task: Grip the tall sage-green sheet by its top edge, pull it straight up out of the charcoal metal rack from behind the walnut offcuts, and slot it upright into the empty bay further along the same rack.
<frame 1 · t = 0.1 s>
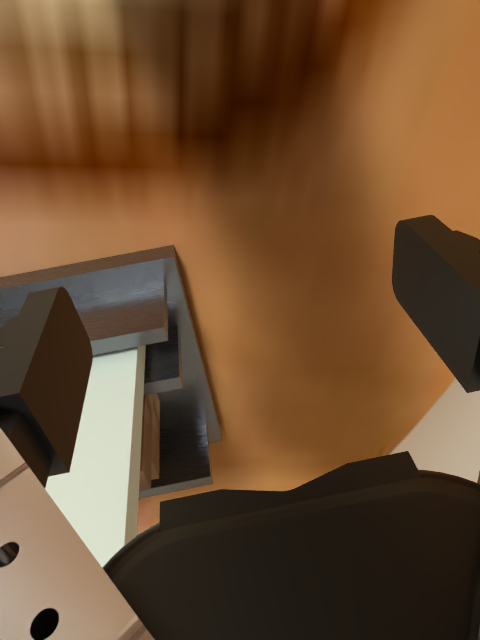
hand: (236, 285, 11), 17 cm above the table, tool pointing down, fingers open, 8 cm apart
offcut bundle: (68, 409, 35), point 1 cm above the table, touching rack
tall sheet: (26, 337, 30), point 1 cm above the table, touching rack
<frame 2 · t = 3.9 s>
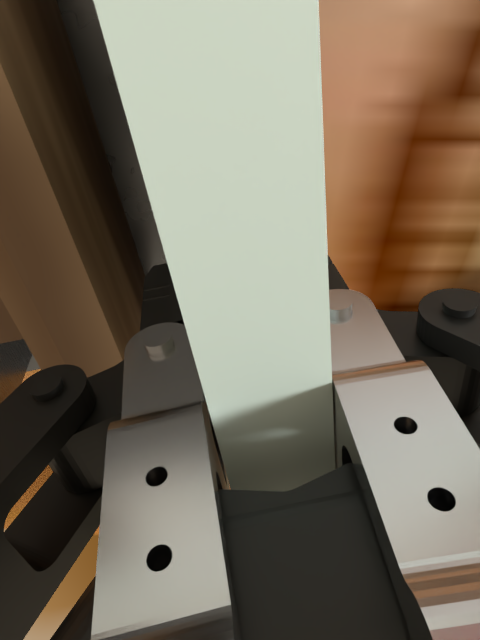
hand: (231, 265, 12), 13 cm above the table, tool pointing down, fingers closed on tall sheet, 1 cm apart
offcut bundle: (46, 177, 21), point 1 cm above the table, touching rack
tall sheet: (204, 147, 21), point 2 cm above the table, touching gripper, rack
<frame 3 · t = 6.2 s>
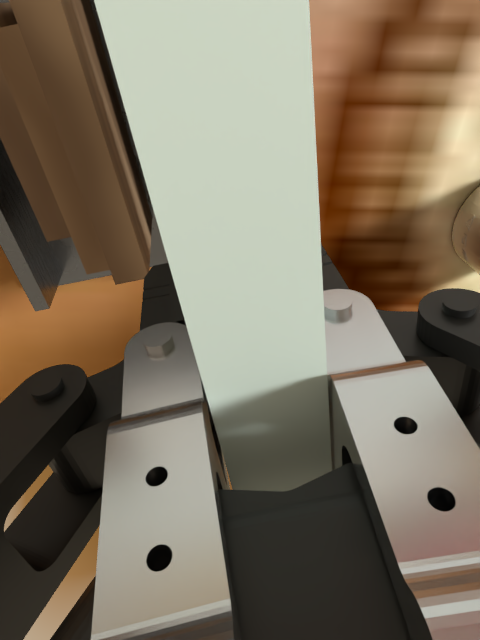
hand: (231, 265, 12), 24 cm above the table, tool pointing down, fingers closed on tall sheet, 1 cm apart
offcut bundle: (79, 128, 30), point 1 cm above the table, touching rack
tall sheet: (203, 145, 21), point 12 cm above the table, touching gripper
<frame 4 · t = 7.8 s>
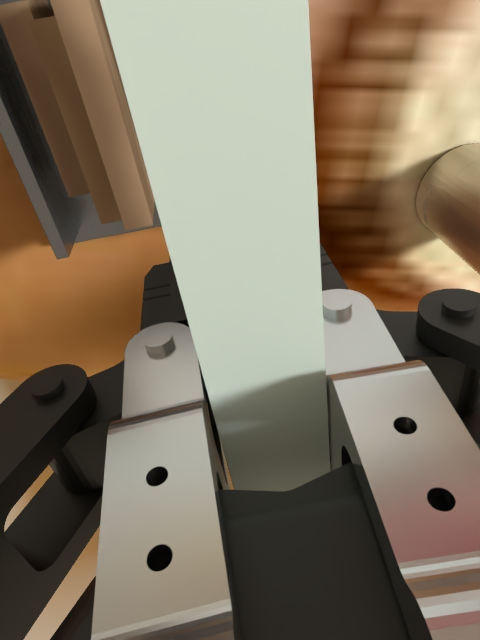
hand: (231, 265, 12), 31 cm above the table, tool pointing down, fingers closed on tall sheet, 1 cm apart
offcut bundle: (95, 104, 35), point 1 cm above the table, touching rack
tall sheet: (203, 145, 21), point 19 cm above the table, touching gripper
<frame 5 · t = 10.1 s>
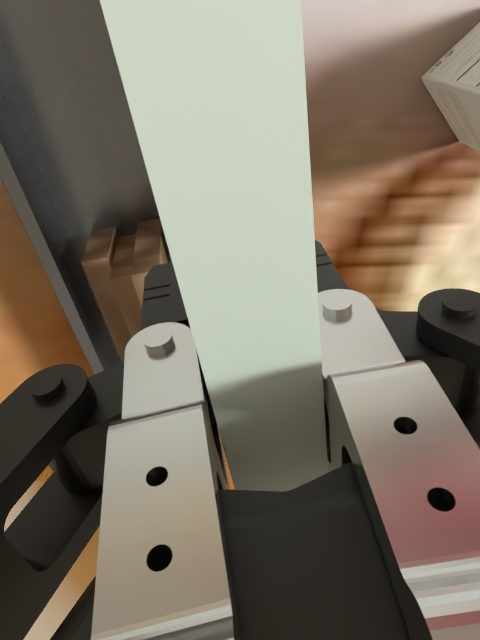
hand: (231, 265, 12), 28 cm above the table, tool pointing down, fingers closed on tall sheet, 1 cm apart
offcut bundle: (148, 292, 42), point 1 cm above the table, touching rack
tall sheet: (203, 144, 22), point 16 cm above the table, touching gripper
rack: (152, 201, 39), on the table
supplement box: (476, 76, 36), on the table
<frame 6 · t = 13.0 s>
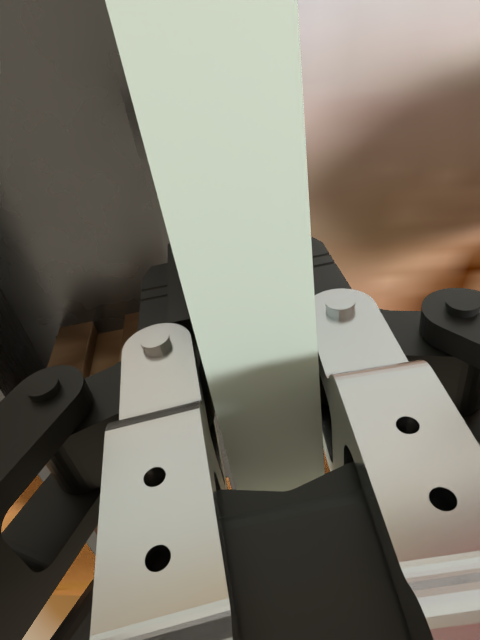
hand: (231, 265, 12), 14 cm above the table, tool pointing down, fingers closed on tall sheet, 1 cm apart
offcut bundle: (141, 397, 31), point 1 cm above the table, touching rack
tall sheet: (203, 142, 22), point 2 cm above the table, touching gripper
rack: (146, 283, 28), on the table
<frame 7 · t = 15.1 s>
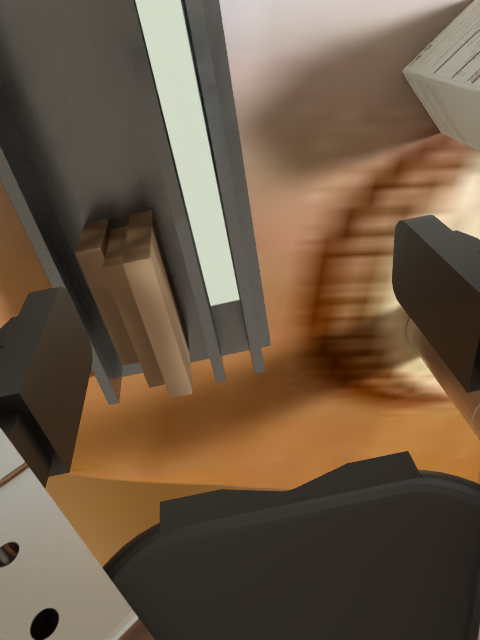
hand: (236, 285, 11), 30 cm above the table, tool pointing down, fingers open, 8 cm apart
offcut bundle: (141, 283, 43), point 1 cm above the table, touching rack
tall sheet: (179, 86, 34), point 1 cm above the table, touching rack
rack: (144, 194, 40), on the table
supplement box: (455, 68, 38), on the table
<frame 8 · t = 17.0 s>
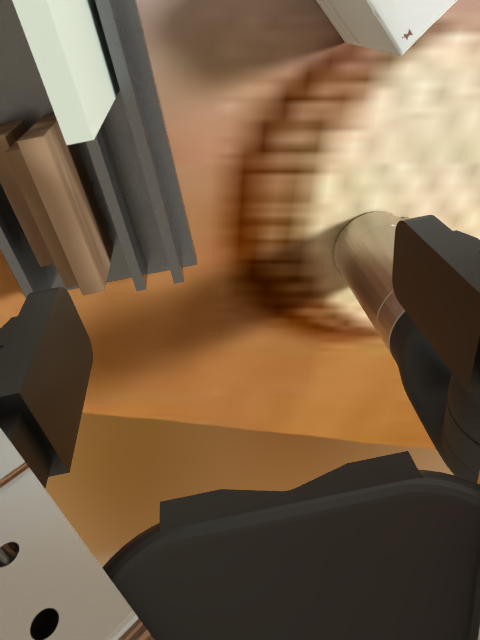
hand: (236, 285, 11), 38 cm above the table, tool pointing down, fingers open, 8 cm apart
offcut bundle: (62, 191, 45), point 1 cm above the table, touching rack
rack: (58, 97, 41), on the table
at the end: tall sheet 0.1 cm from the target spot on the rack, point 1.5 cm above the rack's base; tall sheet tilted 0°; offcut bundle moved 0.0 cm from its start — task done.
